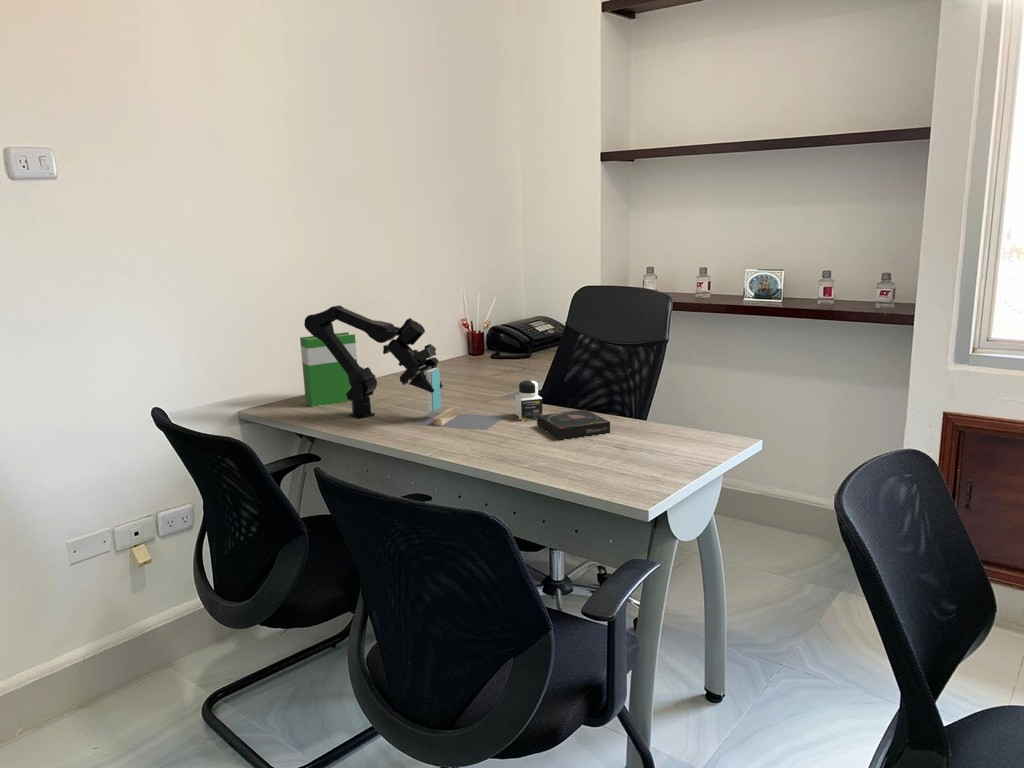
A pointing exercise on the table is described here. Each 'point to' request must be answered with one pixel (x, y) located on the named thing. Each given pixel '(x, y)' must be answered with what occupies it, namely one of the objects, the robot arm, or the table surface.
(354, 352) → the hardback book
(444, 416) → the ledge
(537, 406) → the medicine bottle
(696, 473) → the table surface
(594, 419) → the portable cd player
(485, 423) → the mat
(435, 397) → the tile
